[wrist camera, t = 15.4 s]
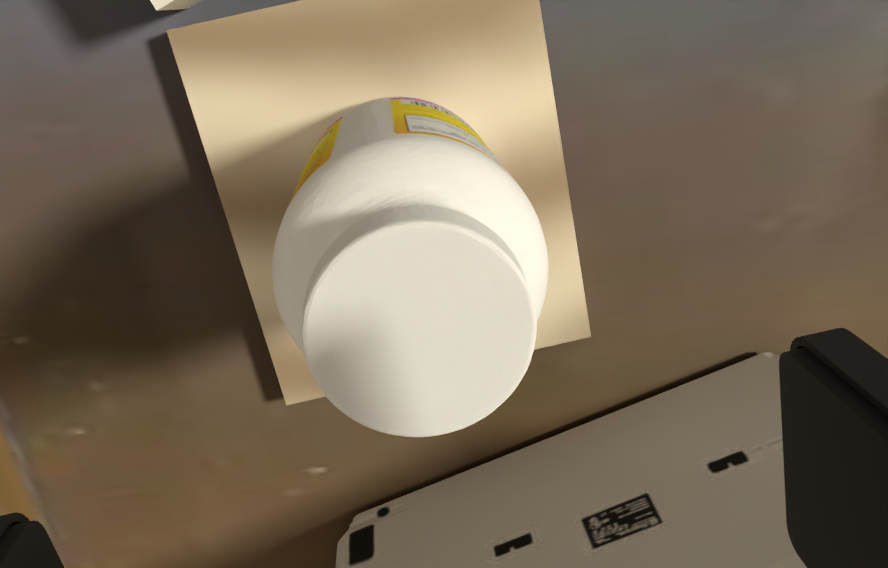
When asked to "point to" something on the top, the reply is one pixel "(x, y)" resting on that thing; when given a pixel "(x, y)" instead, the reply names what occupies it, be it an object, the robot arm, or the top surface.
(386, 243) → the supplement bottle
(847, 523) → the robot arm
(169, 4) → the off-white block
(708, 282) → the top surface
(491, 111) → the ash board
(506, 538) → the stereo radio cassette player
